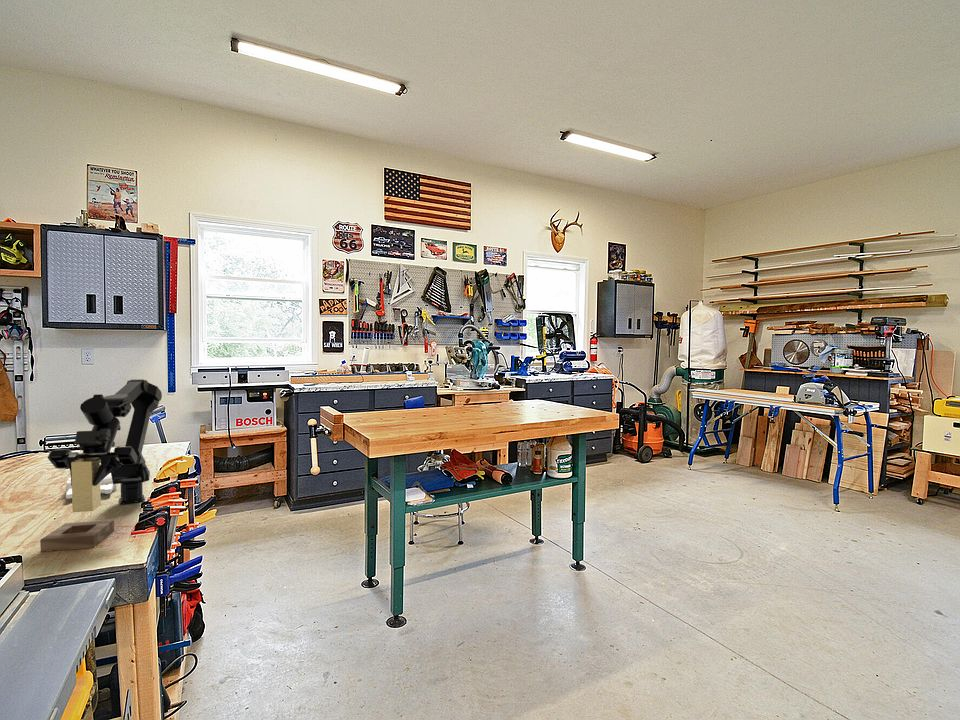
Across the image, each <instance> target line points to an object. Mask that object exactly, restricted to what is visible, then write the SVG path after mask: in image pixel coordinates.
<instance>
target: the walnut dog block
mask: <svg viewBox="0 0 960 720" xmlns="http://www.w3.org/2000/svg"><path fill="white" fill-rule="evenodd" d="M113 532H115V519H106V520H105V519H103V520H93V521H92V520H91V521H79V522H78V521H77V522H66V523H64V524H62V525H60V526H59V527H58V528H56V529H55V530H53V531H51V532H50V533H49V534H47V535H45V536H44V537H42V538H41V539H40V541H39V543H40V546H39V547H40V552H41V551H46V552H51V551H50V550H57V551H65V550H64V549H68V550H76V549H77V550H79V549H89V548H95V547H96V546H97V545H99V543H101V542H102V541H103V540H105V539H106V538H108V536H110V535H111V534H112V533H113Z"/></svg>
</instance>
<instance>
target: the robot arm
mask: <svg viewBox="0 0 960 720" xmlns="http://www.w3.org/2000/svg"><path fill="white" fill-rule="evenodd" d="M92 396H93V397H90V398H87V399H86V400H84V401H83V402H82V403H81V404H80V411H81V413H82V414H83V416H84V417H85V419H86V421H87V422H88V424H90V425H92V428H91V430H78V431H77V430H76V434H75V439H74V444H75V445H78V446H79V447H78V449H79V451H80V452H76V451H72V450H71V449H70V448H60V449H59V448H57V449H52V450H51V451H50V452H49V453H48V455H47V459H48V460H49V462H51V465H53V467H54V468H55V469H59V470H64V469H69V472H70V477H71V486H72V471H71V462H73V461H75V460H78V459H80V458H98V457H100V460H101V464H100V467H99V469H98V471H97V474H96V476H95V478H94V482H93V485H94V486H96V485H97V484H98V483H100V482H101V481H102V480H103V479H104V478H105V477H106V476H107V475H108V474H110V473H111V476H112V481H113V484H118V485H119V484H120V498H118V501H119V505H120V506H121V505H122V506H123V505H128V504H132V503H133V504H134V503H140V502H145V501H146V498H145V494H143V493H144V490H143V488H144V487H143V484H144V483H146V482H149V481H150V477H151V475H150V474H151V473H150V470H149V468H148V467H147V465H146V463H147V462H146V459H145V457H144V456H143V454H142V452H143V449H144V443H145V439H146V434H147V429H148V426H149V423H150V418H151V414H152V413H154V411H155V410H157V408H158V407H159V404H160V401H161V400H162V396H163V395H162V391H161V389H160V388H159V387H158V386H157V385H154V384H152V383H150V382H148V380H147V379H141V378H139V379H137V378H136V379H130V380H129V379H128V380H127V382H126V384H125V385H124V386H122V388H120V389H119V390H118V391H117V392H116V393H114V394H111V395H105V396H104V395H103V394H93V395H92ZM132 408H133V413H132V417H131V420H130V426H129V429H128V434H127V436H126V437H127V438H126V442H125V445H124V446H115V445H116V443H115V438H116V435H117V433H118V431H121V430H122V429H121V421H120V420H119V418H125V417H126V416H128V414H129V413H130V412H131V410H132ZM112 447H114V450H113V451H112ZM111 451H112V452H111ZM81 452H82V453H81Z"/></svg>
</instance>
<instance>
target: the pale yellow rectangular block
mask: <svg viewBox="0 0 960 720" xmlns="http://www.w3.org/2000/svg"><path fill="white" fill-rule="evenodd" d="M99 467H100V457H98V458H80V459H78V460H75V461H73V462H71V471H72V498H71V502H72V504H71V505H72V506H71V507H72V508H71V509H72V513H82V512H83V513H85V512H94V511H95V510H96V509H98V508H99V507H100V506H102V504H101V503H102V501H101V497H102V495H101V494H102V493H101V492H100V483H98V484H97V485H96V486H94V485H93V482H94V478H95V476H96V474H97V471H98V469H99Z"/></svg>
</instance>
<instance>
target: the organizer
mask: <svg viewBox="0 0 960 720" xmlns="http://www.w3.org/2000/svg"><path fill="white" fill-rule="evenodd" d="M100 464H101V463H100ZM65 486H66V487H65V489H66V490H65V491H66V494H65V499H72V486H71V476H70V477H69V478H68V480H67V482H66V485H65ZM118 486H119V484H113V481H112V476H111V473H110V474H108V475H107V476H106V477H105V478H104V479H103V480H102V481H101V482H100V492H101V494H105V495H107V494H108V495H109V494H112V492H113V491H114V492H115V491H117V490H118Z"/></svg>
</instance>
